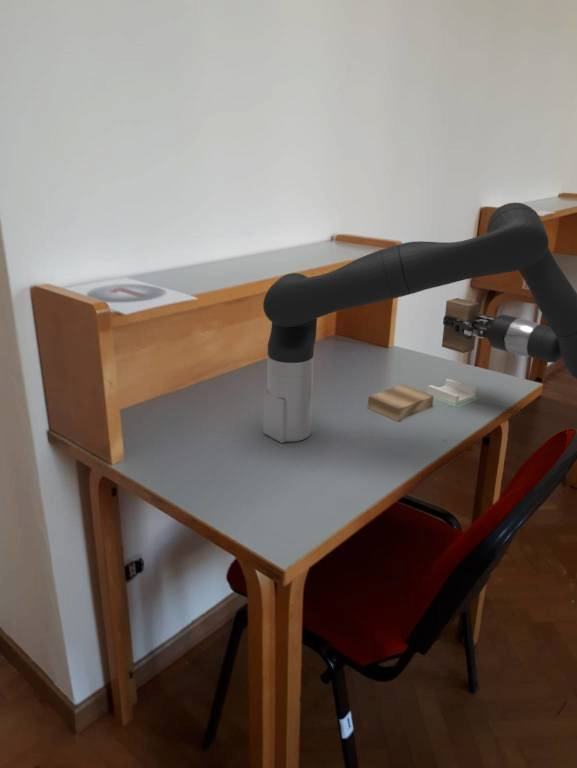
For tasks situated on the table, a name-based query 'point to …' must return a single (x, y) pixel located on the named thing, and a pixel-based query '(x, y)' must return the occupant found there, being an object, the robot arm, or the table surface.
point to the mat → (460, 403)
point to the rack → (452, 392)
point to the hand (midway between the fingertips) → (450, 318)
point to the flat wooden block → (400, 402)
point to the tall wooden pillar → (465, 312)
